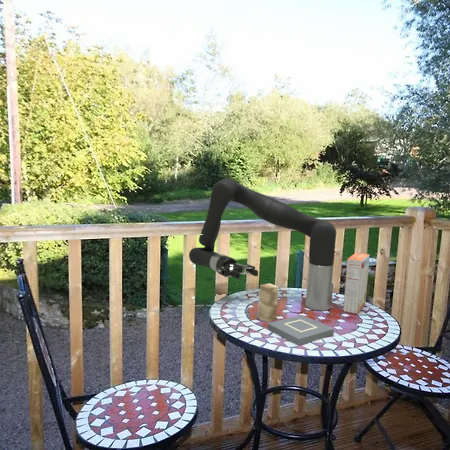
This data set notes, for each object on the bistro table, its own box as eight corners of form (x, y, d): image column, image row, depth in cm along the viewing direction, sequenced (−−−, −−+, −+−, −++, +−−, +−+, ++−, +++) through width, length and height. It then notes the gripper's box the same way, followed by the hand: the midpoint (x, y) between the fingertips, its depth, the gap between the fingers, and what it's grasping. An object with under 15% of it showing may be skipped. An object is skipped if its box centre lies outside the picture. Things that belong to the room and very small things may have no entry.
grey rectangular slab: (301, 320, 142) (302, 314, 141) (333, 334, 131) (334, 328, 130) (267, 329, 132) (267, 322, 132) (298, 345, 121) (299, 338, 121)
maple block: (267, 315, 145) (269, 283, 143) (276, 319, 141) (278, 286, 139) (258, 317, 142) (260, 285, 140) (266, 322, 138) (268, 288, 137)
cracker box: (350, 301, 165) (355, 251, 162) (365, 305, 162) (370, 254, 159) (341, 311, 153) (346, 257, 150) (358, 315, 150) (363, 260, 147)
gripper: (208, 256, 157) (233, 266, 144) (237, 254, 165) (263, 263, 152) (207, 275, 158) (232, 287, 145) (236, 271, 166) (262, 282, 153)
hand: (248, 274), depth 149 cm, fingers open, 8 cm apart
